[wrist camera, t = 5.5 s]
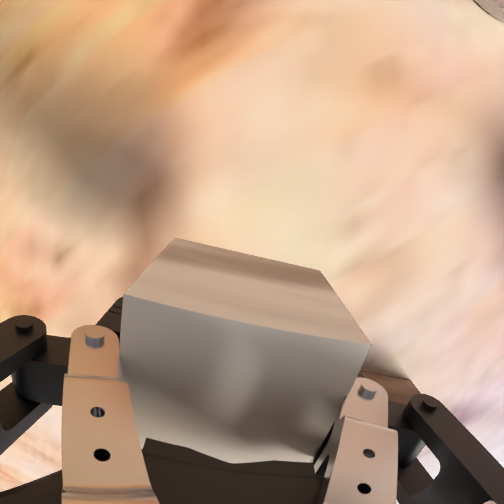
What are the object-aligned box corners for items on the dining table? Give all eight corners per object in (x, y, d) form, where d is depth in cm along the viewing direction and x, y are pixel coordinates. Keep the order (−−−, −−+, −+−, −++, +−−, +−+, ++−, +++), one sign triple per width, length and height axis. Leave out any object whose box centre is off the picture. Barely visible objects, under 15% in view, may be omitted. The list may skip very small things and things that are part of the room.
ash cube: (175, 237, 12) (123, 293, 6) (320, 270, 12) (371, 344, 7) (156, 361, 13) (119, 454, 8) (280, 386, 13) (296, 485, 8)
